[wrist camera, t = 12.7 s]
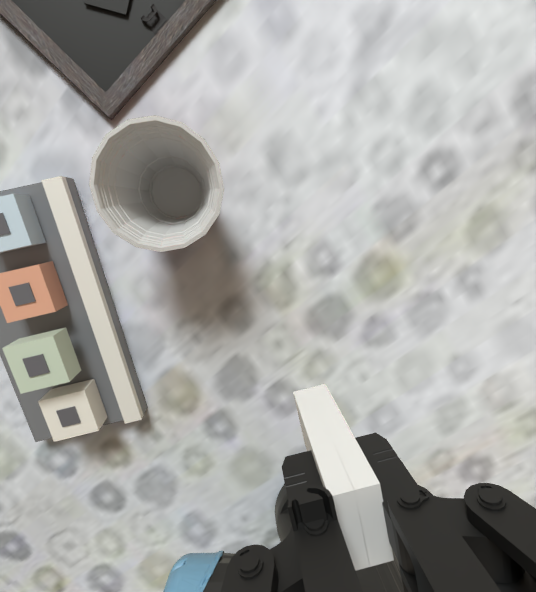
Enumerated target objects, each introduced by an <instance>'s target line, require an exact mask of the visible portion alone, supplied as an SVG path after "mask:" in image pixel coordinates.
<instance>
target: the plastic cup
mask: <svg viewBox="0 0 536 592" xmlns="http://www.w3.org/2000/svg"><path fill="white" fill-rule="evenodd" d="M89 186H90V189H91V193H92V196H93V199H94V203H95V206H96V210H97V212H98V213H99V215H100V216H101V217H102V218H103V220H104V221H105V222H106V224H107V225H108V226H109V228H110V229H111V230H112V232H113V233H115V234H116V235H118V236H119V237H121V238H122V239H124V240H126V241H127V242H129V243H130V244H132V245H134V246H135V247H138V248H143V249H148V250H153V251H158V252H164V251H170V250H175V249H181V248H186V247H187V246H189V245H190V244H192V243H193V242H195V241H196V240H198V239H199V238H201V237H202V236H204V235H206V233H207V232H208V230H209V229H210V227H211V226H212V224H213V223H214V221H215V220H216V218H217V217H218V215H219V213H220V208H221V203H222V198H223V192H224V186H223V180H222V175H221V170H220V165H219V162H218V160H217V159H216V157H215V155H214V154H213V152H212V151H211V149H210V147H209V146H208V144H207V143H206V141H205V139H203V138H202V137H201V136H199V135H198V134H197V133H195V132H194V131H193V130H191V129H190V128H189V127H187V126H186V125H185V124H183V123H182V122H178V121H175V120H171V119H167V118H163V117H159V116H156V115H154V116H147V117H141V118H135V119H128V120H127V121H125V122H124V123H122V124H121V125H119V126H118V127H116V128H115V129H113V130H112V131H110V132H109V133H107V134H106V135H105V137H104V138H103V140H102V142H101V143H100V145H99V147H98V149H97V150H96V152H95V154H94V155H93V157H92V164H91V173H90V182H89Z"/></svg>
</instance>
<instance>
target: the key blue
mask: <svg viewBox="0 0 536 592" xmlns="http://www.w3.org/2000/svg"><path fill="white" fill-rule="evenodd" d="M43 243H46V241H45V238H44V235H43V232H42V230H41V227H40V224H39V221H38V218H37V215H36V213H35V210H34V207H33V204H32V201H31V198H30V196H29V195H22V194H9V195H5V196H0V253H3V252H8V251H12V250H16V249H21V248H25V247H30V246H34V245H38V244H43Z"/></svg>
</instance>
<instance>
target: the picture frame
mask: <svg viewBox="0 0 536 592" xmlns="http://www.w3.org/2000/svg"><path fill="white" fill-rule="evenodd" d="M215 1H216V0H0V14H1V15H2V16H4V17H5V18H6V19H7V20H8V21H9V22H10V23H11V24H12V25H13V26H14V27H15V28H16V29H17V30H18V31H19V32H20V33H21V34H22V35H23V36H24V37H25V38H26V39H28V40H29V41H30V42H31V43H32V44H33V45H34V46H35V47H36V48H37V49H38V50H39V51H40V52H41V53H42V54H43V55H44V56H45V57H46V58H47V59H48V60H49V61H50V62H52V63H53V64H54V65H55V66H56V67H57V68H58V69H59V70H60V71H61V72H62V73H63V74H64V75H65V76H66V77H67V78H68V79H69V80H70V81H71V82H72V83H73V84H74V85H75V86H77V87H78V88H79V89H80V90H81V91H82V92H83V93H84V94H85V95H86V96H87V97H88V98H89V99H90V100H91V101H92V102H93V103H94V104H95V105H96V106H97V107H98V108H99V109H101V110H102V111H103V112H104V113H105V114H106V115H107V116H108V117H109V118H110V119H111V120H112V119H113V118H114V116H115V115H116V114H117V113H118V112H119V111H120V110H121V108H122V107H123V106H124V105H125V104H126V103H127V102H128V100H129V99H130V98H131V97H132V96H133V95H134V94H135V92H136V91H137V90H138V89H139V88H140V87H141V86H142V84H143V83H144V82H145V81H146V80H147V79H148V78H149V76H150V75H151V74H152V73H153V72H154V71H155V70H156V68H157V67H158V66H159V65H160V64H161V63H162V62H163V60H164V59H165V58H166V57H167V56H168V55H169V54H170V52H171V51H172V50H173V49H174V48H175V47H176V46H177V44H178V43H179V42H180V41H181V40H182V39H183V38H184V37H185V35H186V34H187V33H188V32H189V31H190V30H191V29H192V27H193V26H194V25H195V24H196V23H197V22H198V21H199V19H200V18H201V17H202V16H203V15H204V14H205V13H206V11H207V10H208V9H209V8H210V7H211V6H212V5H213V3H214V2H215Z"/></svg>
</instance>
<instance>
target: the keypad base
mask: <svg viewBox="0 0 536 592" xmlns="http://www.w3.org/2000/svg"><path fill="white" fill-rule="evenodd" d="M41 181H42V182H41V183H36V184H32V185H27V186H23V187H18V188H14V189H9V190H5V191H0V196H5V195H9V194H22V195H29V196H30V198H31V201H32V204H33V207H34V210H35V213H36V215H37V218H38V221H39V224H40V227H41V230H42V232H43V235H44V238H45V241H46V243H43V244H38V245H34V246H30V247H25V248H21V249H16V250H12V251H8V252H3V253H0V273H3V272H7V271H11V270H16V269H20V268H24V267H29V266H33V265H37V264H42V263H46V262H50V261H53V263H54V266H55V269H56V272H57V275H58V278H59V281H60V283H61V286H62V289H63V292H64V295H65V298H66V300H67V303H68V305H67V306H65V307H64V308H62V309H60V310H58V311H56V312H52V313H48V314H44V315H39V316H35V317H31V318H27V319H23V320H18V321H14V322H10V323H7V321H6V319H5V316H4V314H3V311H2V309H1V306H0V356H1V358H2V361H3V363H4V366H5V368H6V370H7V373H8V375H9V378H10V380H11V383H12V385H13V388H14V390H15V393H16V395H17V398H18V400H19V402H20V405H21V407H22V410H23V412H24V415H25V417H26V420H27V422H28V425H29V427H30V430H31V432H32V434H33V437H34V439H35V442H38V441H42V440H46V439H50V438H52V436H51V433H50V431H49V428H48V425H47V423H46V420H45V418H44V415H43V413H42V410H41V408H40V405H39V403H38V401H39V400H40V399H41V398H42V397H43V396H44V395H45V394H47V393H48V392H49V391H50V390H51V389H54V388H58V387H62V386H66V385H70V384H74V383H78V382H83V381H87V380H91V379H94V380H95V383H96V385H97V388H98V391H99V394H100V397H101V400H102V402H103V405H104V408H105V411H106V414H107V419H106V420H105V422H104V423H103V425H106V424H110V423H114V422H118V421H122V420H124V423H125V424H126V423H130V422H134V421H138V420H142V418H143V416H144V413H145V411H146V409H147V405H146V401H145V398H144V395H143V392H142V389H141V386H140V383H139V380H138V377H137V374H136V371H135V368H134V364H133V361H132V358H131V355H130V352H129V349H128V346H127V343H126V340H125V337H124V334H123V331H122V328H121V324H120V321H119V318H118V315H117V312H116V309H115V306H114V303H113V300H112V297H111V294H110V291H109V288H108V284H107V281H106V278H105V275H104V272H103V269H102V266H101V263H100V260H99V257H98V254H97V251H96V247H95V244H94V241H93V238H92V235H91V232H90V229H89V226H88V223H87V220H86V217H85V214H84V211H83V207H82V204H81V201H80V198H79V195H78V192H77V189H76V186H75V183H74V180H73V179H72V178H67V177H63V176H59V177H55V178H50V179H46V180H41ZM61 328H66V329H67V332H68V334H69V337H70V340H71V343H72V346H73V348H74V351H75V354H76V357H77V359H78V362H79V365H80V368H81V371H80V372H79V373H78V374H77V375H76V376H75V377H74V378H73V379H72V380H71V381H70V382H67V383H63V384H59V385H55V386H51V387H47V388H43V389H39V390H34V391H30V392H26V393H22V394H20V391H19V389H18V386H17V384H16V381H15V379H14V376H13V374H12V371H11V369H10V366H9V364H8V361H7V359H6V356H5V354H4V351H3V349H2V348H3V347H5V346H7V345H9V344H10V343H12V342H14V341H16V340H17V339H19V338H23V337H28V336H32V335H36V334H40V333H44V332H49V331H53V330H57V329H61Z"/></svg>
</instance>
